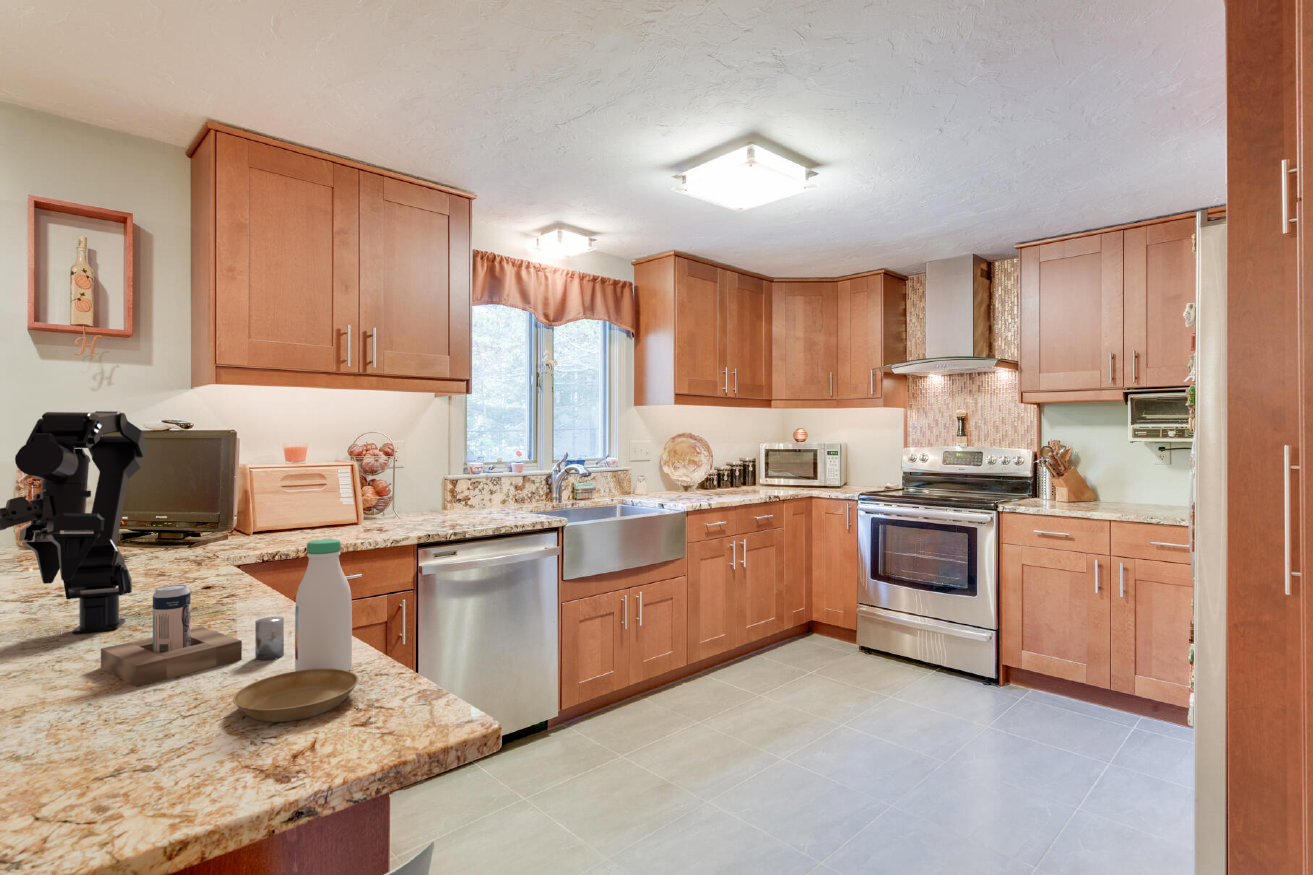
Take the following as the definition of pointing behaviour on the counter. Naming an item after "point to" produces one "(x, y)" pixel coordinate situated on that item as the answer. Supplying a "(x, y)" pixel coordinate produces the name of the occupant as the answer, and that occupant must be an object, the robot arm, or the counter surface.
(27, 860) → the counter surface
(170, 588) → the beer can
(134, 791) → the counter surface
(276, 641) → the short steel pin
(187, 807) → the counter surface
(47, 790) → the counter surface
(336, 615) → the milk bottle
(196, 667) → the walnut collar
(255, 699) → the plant saucer
